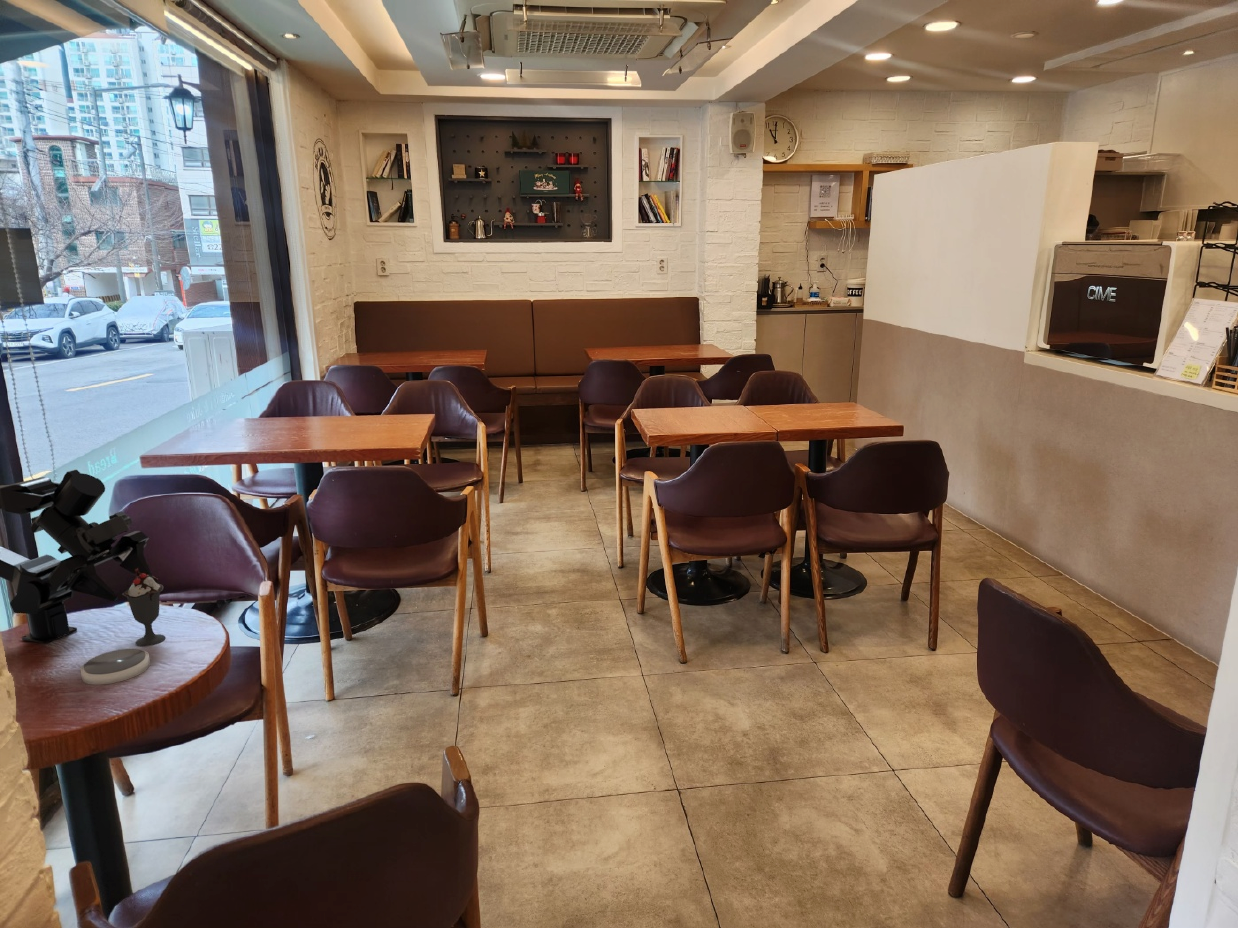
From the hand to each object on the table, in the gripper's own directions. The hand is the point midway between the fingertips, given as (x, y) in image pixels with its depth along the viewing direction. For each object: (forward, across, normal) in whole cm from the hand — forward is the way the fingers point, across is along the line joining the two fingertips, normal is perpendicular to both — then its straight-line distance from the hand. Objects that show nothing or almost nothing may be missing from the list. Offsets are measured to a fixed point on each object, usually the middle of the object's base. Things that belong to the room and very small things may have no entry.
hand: (134, 590), depth 145 cm
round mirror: (+10, -12, +4) cm, 16 cm away
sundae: (+8, 0, +6) cm, 10 cm away
